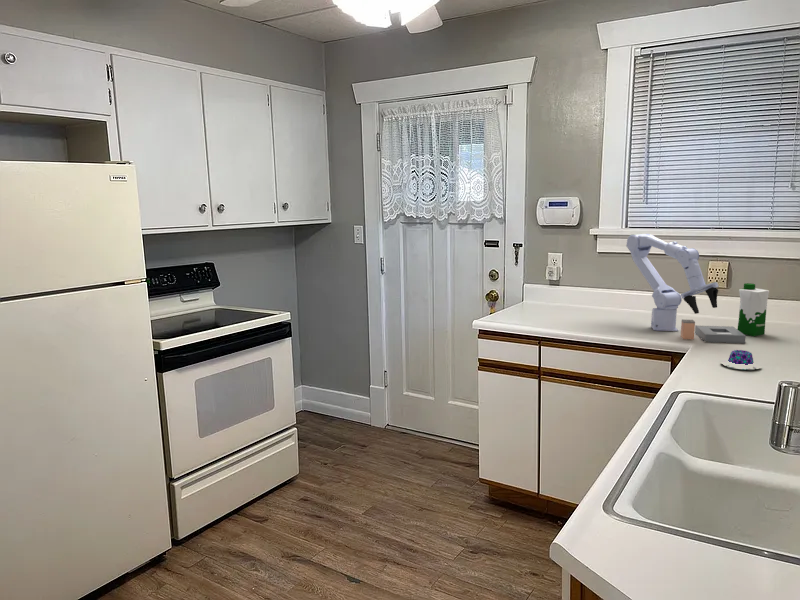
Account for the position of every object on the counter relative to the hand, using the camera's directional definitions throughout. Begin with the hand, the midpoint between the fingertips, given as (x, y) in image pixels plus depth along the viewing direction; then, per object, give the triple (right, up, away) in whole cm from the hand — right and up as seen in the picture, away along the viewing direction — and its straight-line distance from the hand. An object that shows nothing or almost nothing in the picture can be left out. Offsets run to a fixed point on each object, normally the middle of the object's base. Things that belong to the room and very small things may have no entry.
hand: (705, 310), depth 236 cm
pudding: (-7, -18, -36) cm, 41 cm away
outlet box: (+6, -11, +2) cm, 12 cm away
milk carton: (+22, -10, +7) cm, 25 cm away
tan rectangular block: (-6, -11, +3) cm, 13 cm away
